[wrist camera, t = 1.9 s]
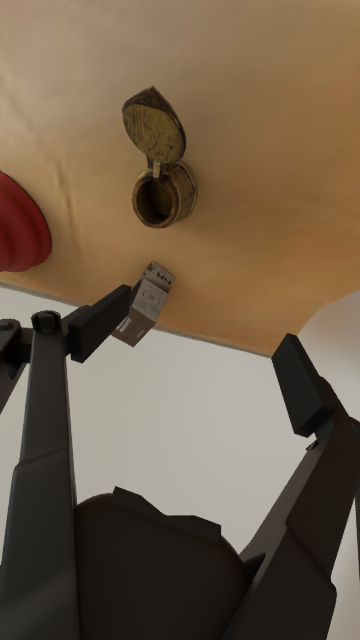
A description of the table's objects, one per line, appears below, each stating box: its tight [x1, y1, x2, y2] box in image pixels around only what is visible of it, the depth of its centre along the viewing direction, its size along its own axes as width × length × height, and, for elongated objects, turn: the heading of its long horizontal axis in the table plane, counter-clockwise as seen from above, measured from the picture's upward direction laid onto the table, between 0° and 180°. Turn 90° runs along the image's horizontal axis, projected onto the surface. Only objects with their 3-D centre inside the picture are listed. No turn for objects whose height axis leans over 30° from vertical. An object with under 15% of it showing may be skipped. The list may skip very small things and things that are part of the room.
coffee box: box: [110, 261, 175, 347], centre depth 39 cm, size 9×6×16 cm
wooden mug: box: [122, 86, 197, 228], centre depth 25 cm, size 9×14×18 cm, turn 164°
